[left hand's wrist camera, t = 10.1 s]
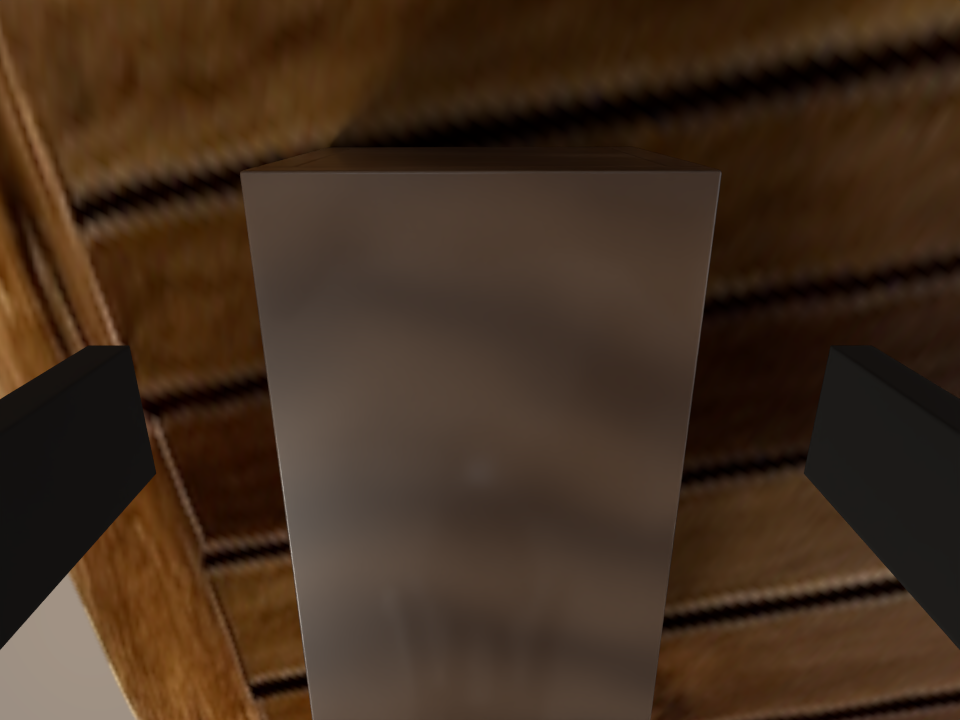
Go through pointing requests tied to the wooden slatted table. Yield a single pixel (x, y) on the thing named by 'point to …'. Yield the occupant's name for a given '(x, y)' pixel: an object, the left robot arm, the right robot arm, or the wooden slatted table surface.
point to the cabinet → (481, 418)
